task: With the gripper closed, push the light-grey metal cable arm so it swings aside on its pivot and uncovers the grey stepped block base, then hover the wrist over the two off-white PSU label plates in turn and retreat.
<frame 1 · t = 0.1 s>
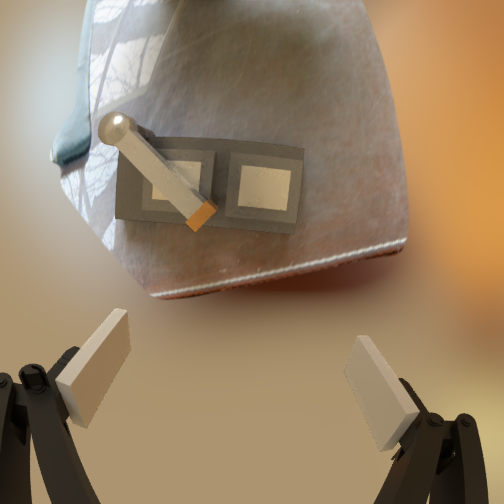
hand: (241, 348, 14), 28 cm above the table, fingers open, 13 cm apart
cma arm: (153, 165, 28), point 10 cm above the table, hinge at 50.0°
grey stepped block base: (206, 181, 39), on the table
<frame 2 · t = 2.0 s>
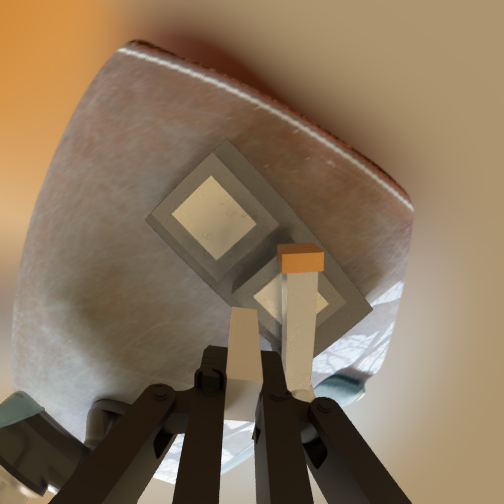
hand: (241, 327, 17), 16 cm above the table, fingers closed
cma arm: (297, 341, 24), point 10 cm above the table, hinge at 50.0°
grey stepped block base: (266, 261, 32), on the table
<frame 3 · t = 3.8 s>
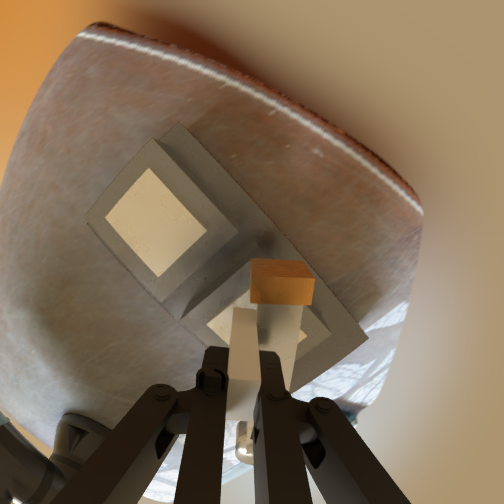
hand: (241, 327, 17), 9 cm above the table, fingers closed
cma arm: (267, 387, 17), point 10 cm above the table, hinge at 45.0°, touching gripper
grey stepped block base: (234, 276, 26), on the table
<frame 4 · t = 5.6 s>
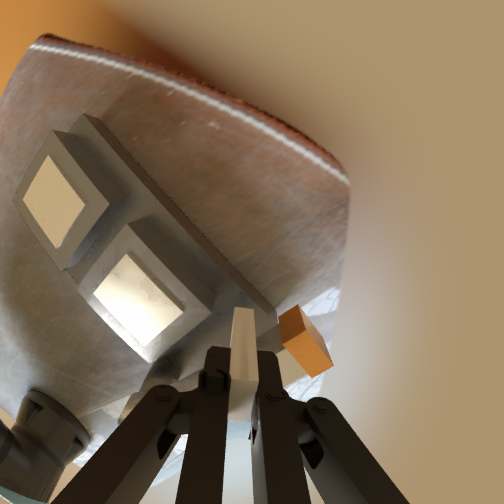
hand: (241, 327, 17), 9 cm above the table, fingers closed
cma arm: (204, 394, 17), point 10 cm above the table, hinge at -5.8°, touching gripper
grey stepped block base: (138, 253, 25), on the table
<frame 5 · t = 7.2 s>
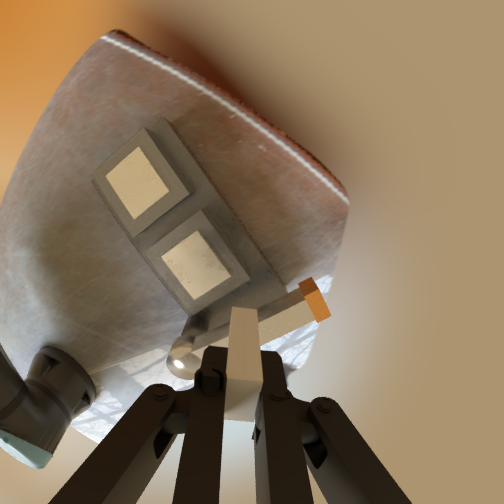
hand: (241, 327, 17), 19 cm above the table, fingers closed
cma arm: (241, 334, 27), point 10 cm above the table, hinge at -5.9°
grey stepped block base: (190, 232, 34), on the table
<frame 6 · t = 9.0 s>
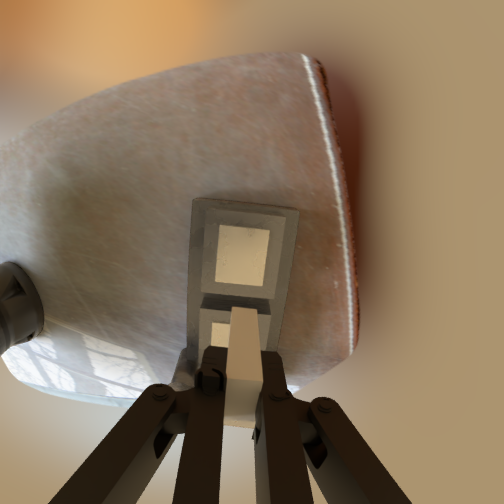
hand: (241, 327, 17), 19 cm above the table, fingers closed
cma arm: (232, 411, 30), point 10 cm above the table, hinge at -5.9°
grey stepped block base: (235, 301, 36), on the table
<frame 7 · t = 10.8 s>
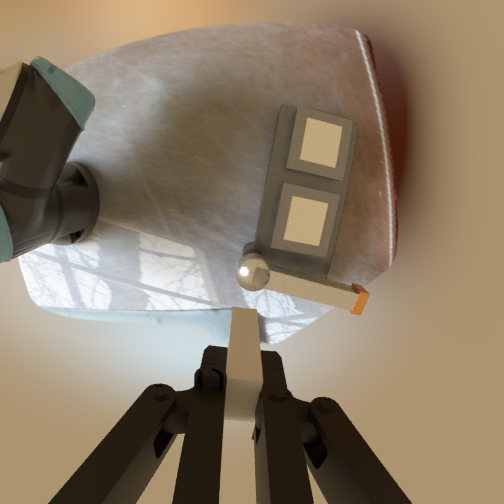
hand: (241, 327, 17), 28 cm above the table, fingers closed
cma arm: (303, 285, 35), point 10 cm above the table, hinge at -5.9°
grey stepped block base: (302, 196, 42), on the table
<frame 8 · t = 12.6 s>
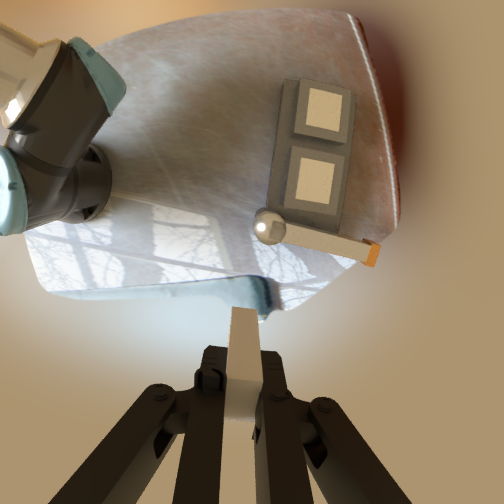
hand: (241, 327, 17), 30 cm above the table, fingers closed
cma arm: (318, 239, 36), point 10 cm above the table, hinge at -5.9°
grey stepped block base: (308, 162, 43), on the table
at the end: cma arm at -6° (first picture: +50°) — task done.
